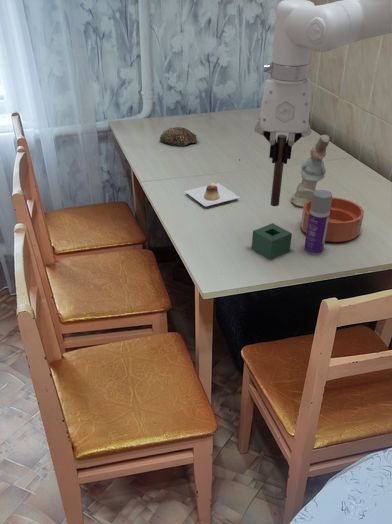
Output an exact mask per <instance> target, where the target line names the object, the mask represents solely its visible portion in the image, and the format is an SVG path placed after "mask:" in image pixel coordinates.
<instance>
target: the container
mask: <svg viewBox="0 0 392 524" xmlns="http://www.w3.org/2000/svg"><path fill="white" fill-rule="evenodd" d="M315 190H316V191H314V192H313V197H312V203H311V208H310V214H309V221H308V227H307V234H306V233H305V241H304V247H303V250H304V252H305V253H306V254H308V255H311V256H318V255H319V256H320V255H321V254H323V252H324V248H325V242H326V241H325V237H326V231H327V226H328V220H329V215H330V208H331V201H332V197H333V193H332V192H331V191H329V190H326V189H315Z"/></svg>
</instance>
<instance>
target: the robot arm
mask: <svg viewBox="0 0 392 524" xmlns="http://www.w3.org/2000/svg"><path fill="white" fill-rule="evenodd" d="M275 10H276V11H275V17H274V18H275V20H274V30H273V41H272V54H271V62H269V63H268V64H264V65H263V73H267V74H268V75H270V76H268V77H266V80H265V83H264V86H263V87H264V88H263V93H262V98H261V106H260V116H259V117H258V120H257V122H256V124H255V126H254V133H257V134H259V135H261V136H263V137H264V138H265V140H266V141H267V142H268V143H269V157H268V158H269V159H271V164H275V160H276V151H277V138H276V137H277V136H276V135H277V133H284V134H285V133H286V134H287V133H288V135H287V136H288V137H287V139H286V145H285V154H284V165H287V164H288V160H291V158H292V149H293V146H294V144H296V143H297V142H298V141H299V140H300V139H302V138H304V137H306V136H310V135H311V134H312V128H311V124H310V120H309V119H310V110H311V99H312V98H311V97H312V96H311V95H312V85H311V83H312V81H311V79H309V78H308V76H309V75H308V74H309V67H310V60H311V52H313V51H314V52H317V53H324V52H329V51H332V50H335V49H337V48H340V47H343V46H346V45H350V44H353V43H357V42H361V41H365V40H369V39H372V38H377V37H379V36H384V35H389V34H390V35H391V34H392V0H338V1H334V2H329V3H326V4H325V3H324V4H319V5H315V3H314V2H313V1H311V0H281V1H279V3H278V4H277V6H276V9H275Z"/></svg>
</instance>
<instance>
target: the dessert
mask: <svg viewBox="0 0 392 524" xmlns="http://www.w3.org/2000/svg"><path fill="white" fill-rule="evenodd" d="M183 191H184V193H185V194H187V195H188V196H190V197H191V198H193V199H194V200H195V201H197V202H198V203H199V204H201V205H202V206H204V207H206V208H208V207H211V206H216V205H219V204H224V203H227V202H228V203H229V202H231V201H235V200H237V199H240V198H241V196H239V195H237V194H235V193H234V192H233V191H231V190H229V189H228V188H226V187H225V186H224V185H222V184H221V183H219V182H217V183H215V182H214V181H212V182H211V183H210V184H208V185H205V186H200V187H196V188H192V189H187V190H183Z"/></svg>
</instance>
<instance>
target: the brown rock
mask: <svg viewBox="0 0 392 524" xmlns="http://www.w3.org/2000/svg"><path fill="white" fill-rule="evenodd" d="M159 140H160V142H161V143H163V144H167V145H170V146H174V147H175V146H178V147H186V146H187V145H189V144H197V142H198V139H197V134H195V133H193V132H192V131H191V130H189V129H188V128H185V127H181V126H174V127H169V128H168V129H166V130H164V131H163V132H162V134H161V135H160V136H159Z"/></svg>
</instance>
